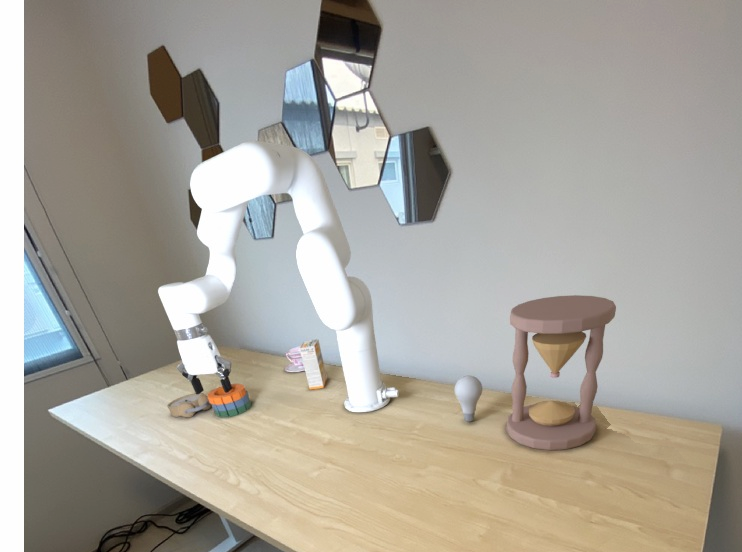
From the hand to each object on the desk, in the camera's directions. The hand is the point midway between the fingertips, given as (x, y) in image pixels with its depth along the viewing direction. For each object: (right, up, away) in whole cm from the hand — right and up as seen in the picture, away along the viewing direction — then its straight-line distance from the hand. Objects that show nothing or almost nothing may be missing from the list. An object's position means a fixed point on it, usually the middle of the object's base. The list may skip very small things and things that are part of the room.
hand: (214, 391), depth 121 cm
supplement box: (+29, +4, +10) cm, 31 cm away
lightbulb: (+70, -13, -25) cm, 76 cm away
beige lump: (-9, -5, +6) cm, 12 cm away
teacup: (+20, +15, +27) cm, 37 cm away
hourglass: (+86, -15, -33) cm, 93 cm away
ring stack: (+5, -5, +2) cm, 7 cm away
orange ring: (+4, -2, 0) cm, 4 cm away
